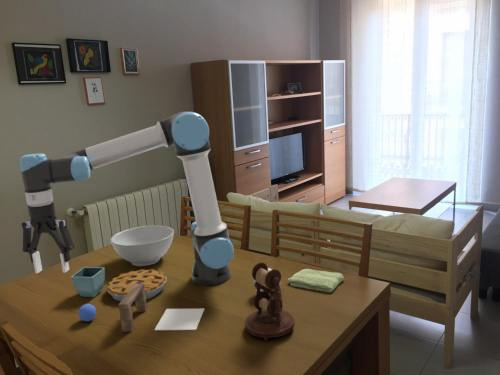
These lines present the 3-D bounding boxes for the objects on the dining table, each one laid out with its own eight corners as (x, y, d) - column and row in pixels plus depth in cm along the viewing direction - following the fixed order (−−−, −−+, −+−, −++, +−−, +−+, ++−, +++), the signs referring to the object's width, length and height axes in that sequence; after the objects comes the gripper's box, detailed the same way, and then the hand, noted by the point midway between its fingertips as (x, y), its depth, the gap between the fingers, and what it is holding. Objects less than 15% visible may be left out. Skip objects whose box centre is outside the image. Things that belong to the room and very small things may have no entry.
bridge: (147, 308, 149) (144, 283, 147) (131, 331, 135) (127, 304, 133) (138, 308, 149) (135, 283, 147) (122, 331, 135) (118, 304, 133)
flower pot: (95, 300, 158) (92, 277, 156) (74, 299, 160) (70, 276, 158) (108, 289, 166) (105, 267, 164) (87, 288, 168) (84, 267, 166)
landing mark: (204, 308, 146) (204, 308, 146) (195, 329, 133) (195, 329, 133) (166, 309, 147) (166, 309, 147) (154, 330, 135) (154, 329, 135)
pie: (119, 279, 175) (117, 268, 174) (173, 276, 174) (171, 265, 173) (99, 305, 154) (97, 292, 153) (160, 302, 153) (158, 289, 152)
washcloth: (301, 272, 170) (301, 265, 169) (345, 280, 161) (345, 272, 160) (286, 286, 159) (285, 278, 159) (331, 295, 150) (331, 287, 149)
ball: (100, 315, 146) (97, 300, 145) (92, 324, 141) (90, 309, 140) (84, 316, 147) (82, 301, 146) (76, 324, 141) (73, 309, 140)
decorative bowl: (129, 250, 208) (126, 225, 205) (183, 249, 204) (181, 224, 201) (103, 273, 182) (99, 246, 180) (165, 273, 178) (161, 244, 175)
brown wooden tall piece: (304, 330, 129) (301, 266, 125) (263, 348, 121) (258, 281, 117) (275, 311, 141) (271, 252, 137) (236, 326, 133) (230, 265, 129)
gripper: (0, 208, 134) (14, 276, 139) (67, 205, 131) (78, 275, 136) (16, 202, 141) (28, 267, 146) (79, 199, 139) (89, 266, 144)
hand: (52, 271), depth 141 cm, fingers open, 9 cm apart
